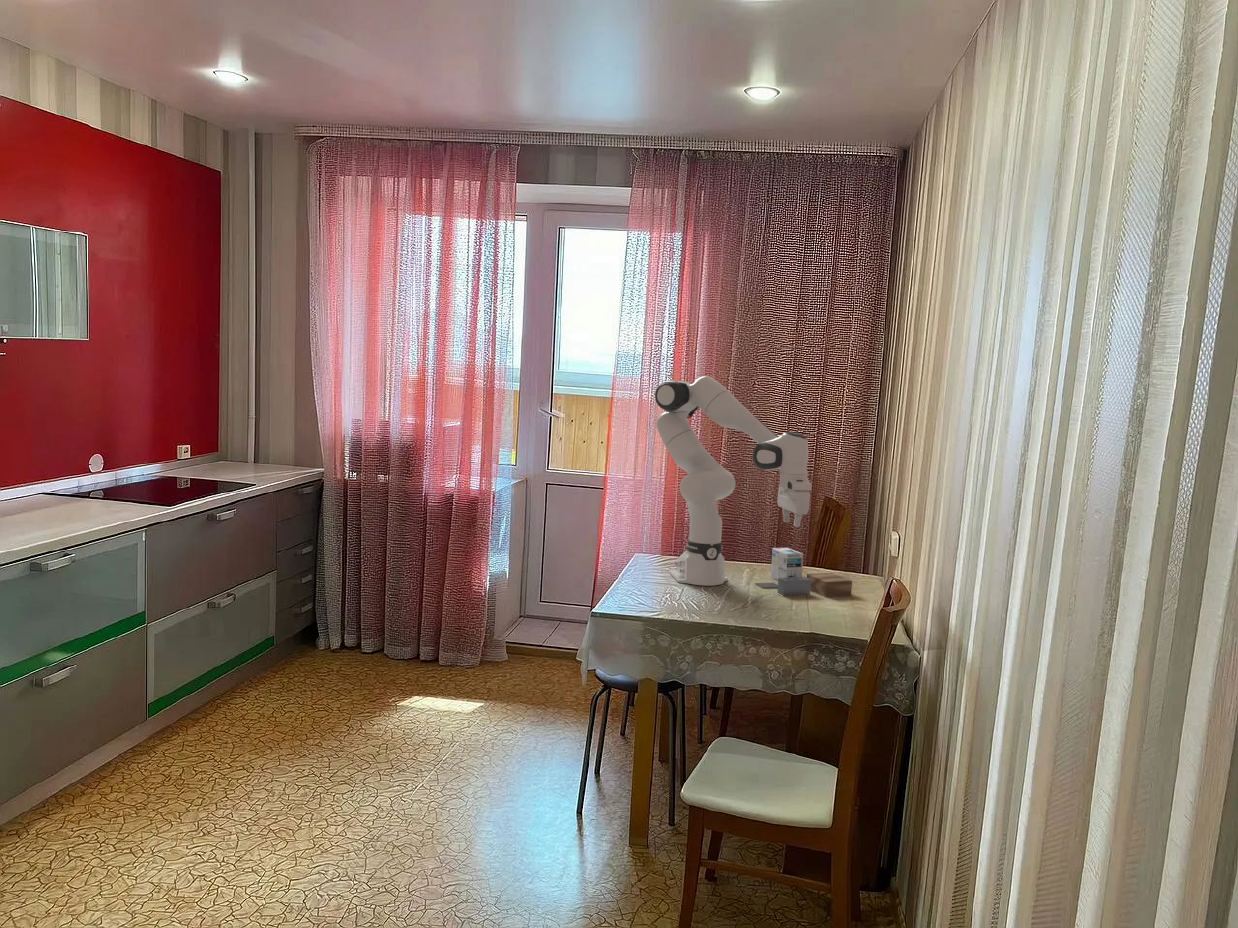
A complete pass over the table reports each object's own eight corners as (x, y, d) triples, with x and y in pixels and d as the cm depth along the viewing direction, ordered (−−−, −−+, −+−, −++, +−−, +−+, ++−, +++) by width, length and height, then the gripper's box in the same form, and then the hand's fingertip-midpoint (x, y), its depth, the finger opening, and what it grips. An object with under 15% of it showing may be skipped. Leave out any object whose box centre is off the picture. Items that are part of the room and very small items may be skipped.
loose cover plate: (754, 585, 321) (755, 583, 321) (773, 585, 323) (773, 582, 323) (762, 589, 316) (762, 587, 315) (781, 589, 318) (781, 586, 318)
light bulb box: (802, 583, 326) (804, 553, 325) (785, 584, 323) (787, 553, 322) (785, 576, 336) (787, 546, 335) (769, 577, 333) (771, 547, 332)
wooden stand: (806, 588, 319) (807, 573, 318) (831, 586, 322) (832, 572, 322) (825, 596, 308) (826, 582, 307) (851, 595, 311) (852, 580, 310)
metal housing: (777, 594, 309) (778, 577, 309) (803, 592, 313) (804, 576, 312) (783, 597, 306) (784, 580, 305) (809, 595, 309) (810, 579, 308)
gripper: (773, 478, 312) (772, 519, 313) (794, 485, 292) (792, 529, 293) (791, 478, 313) (790, 519, 314) (813, 485, 293) (812, 529, 294)
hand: (791, 524), depth 303 cm, fingers open, 8 cm apart
